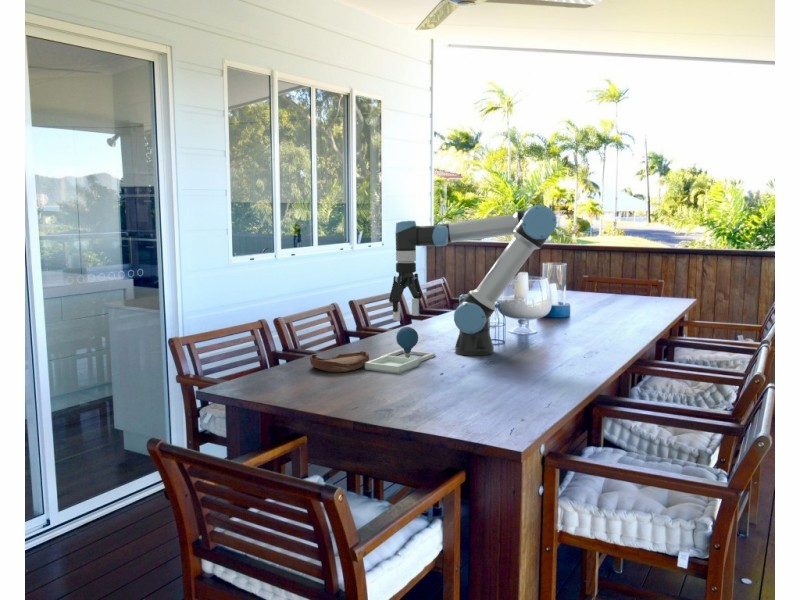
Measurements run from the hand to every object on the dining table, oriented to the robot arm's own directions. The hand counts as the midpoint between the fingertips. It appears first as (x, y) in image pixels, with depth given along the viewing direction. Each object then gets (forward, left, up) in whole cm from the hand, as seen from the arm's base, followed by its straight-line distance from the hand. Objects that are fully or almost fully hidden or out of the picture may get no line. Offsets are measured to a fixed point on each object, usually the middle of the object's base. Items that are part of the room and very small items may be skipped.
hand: (406, 317), depth 264 cm
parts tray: (-4, +16, -15) cm, 23 cm away
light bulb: (0, 0, -16) cm, 16 cm away
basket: (+14, +24, -16) cm, 32 cm away
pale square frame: (0, 0, -15) cm, 15 cm away
